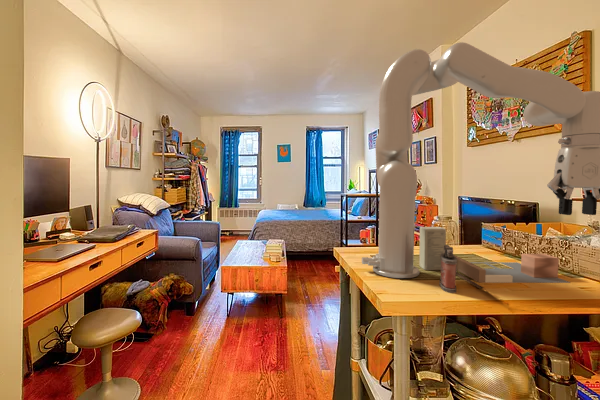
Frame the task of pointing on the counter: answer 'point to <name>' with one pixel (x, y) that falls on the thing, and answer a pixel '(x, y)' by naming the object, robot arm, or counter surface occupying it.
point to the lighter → (448, 270)
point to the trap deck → (498, 274)
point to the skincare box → (431, 247)
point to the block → (539, 265)
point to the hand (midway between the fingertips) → (576, 213)
